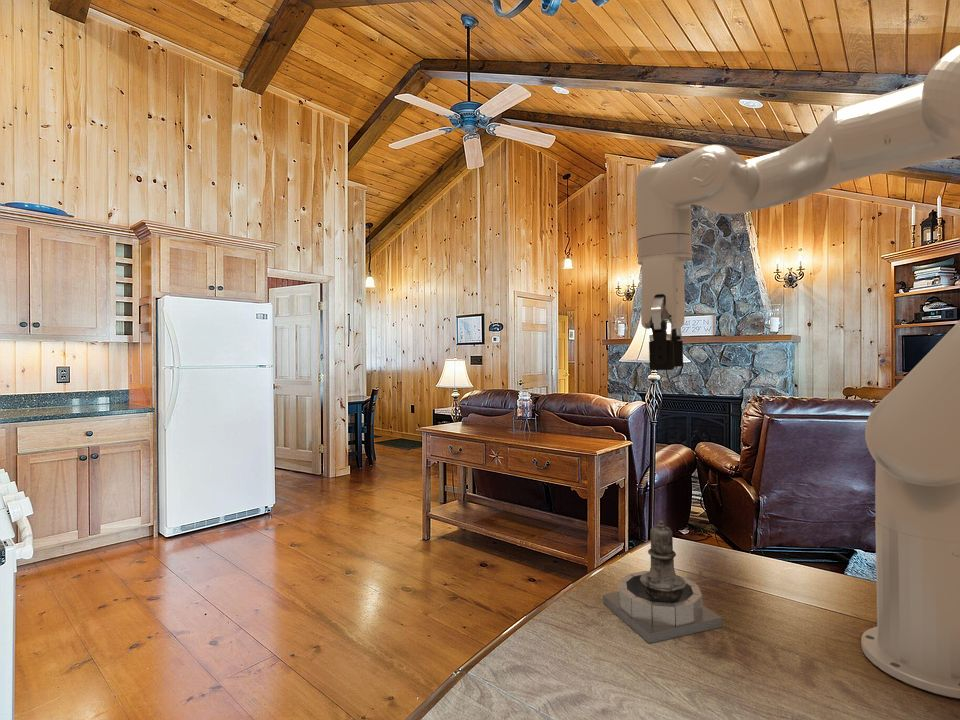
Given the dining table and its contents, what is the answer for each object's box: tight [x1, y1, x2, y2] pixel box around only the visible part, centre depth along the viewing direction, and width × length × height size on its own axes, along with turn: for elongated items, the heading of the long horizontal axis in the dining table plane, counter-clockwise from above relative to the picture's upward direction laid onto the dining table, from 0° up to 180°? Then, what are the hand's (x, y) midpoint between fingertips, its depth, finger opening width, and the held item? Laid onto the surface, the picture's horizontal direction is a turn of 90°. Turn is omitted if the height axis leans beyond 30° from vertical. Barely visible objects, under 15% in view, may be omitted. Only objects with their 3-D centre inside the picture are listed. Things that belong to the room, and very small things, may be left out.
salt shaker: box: [640, 518, 686, 603], centre depth 71 cm, size 6×6×12 cm
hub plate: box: [602, 570, 723, 644], centre depth 72 cm, size 11×11×4 cm
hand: (667, 368), depth 78 cm, fingers open, 9 cm apart
